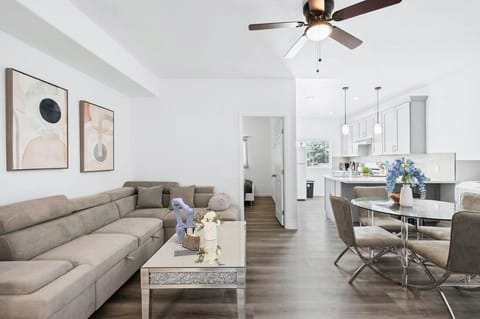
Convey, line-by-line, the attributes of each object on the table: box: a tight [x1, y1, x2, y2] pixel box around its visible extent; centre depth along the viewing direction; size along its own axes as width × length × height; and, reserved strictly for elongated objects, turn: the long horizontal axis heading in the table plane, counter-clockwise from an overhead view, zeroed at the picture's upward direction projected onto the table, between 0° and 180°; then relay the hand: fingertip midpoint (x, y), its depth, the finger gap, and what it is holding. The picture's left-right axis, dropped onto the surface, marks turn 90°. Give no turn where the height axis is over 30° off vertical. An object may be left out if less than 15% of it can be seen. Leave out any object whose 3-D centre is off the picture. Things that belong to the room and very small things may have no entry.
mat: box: [173, 249, 199, 257], centre depth 228 cm, size 14×28×1 cm, turn 103°
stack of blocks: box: [181, 233, 201, 251], centre depth 239 cm, size 21×6×12 cm, turn 41°
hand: (189, 235), depth 247 cm, fingers open, 5 cm apart
